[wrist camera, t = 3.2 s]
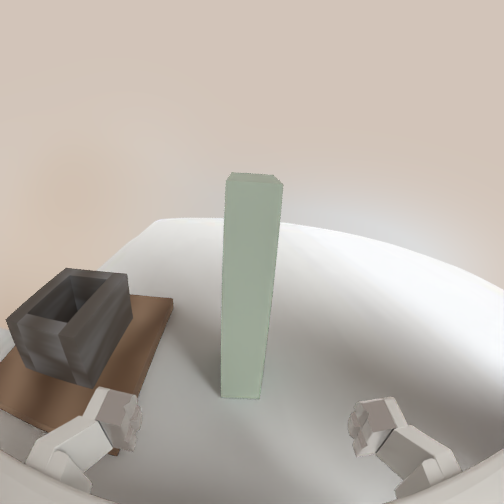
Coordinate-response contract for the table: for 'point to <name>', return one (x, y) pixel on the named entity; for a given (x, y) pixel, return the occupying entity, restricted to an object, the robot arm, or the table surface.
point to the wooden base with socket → (78, 346)
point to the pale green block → (248, 279)
